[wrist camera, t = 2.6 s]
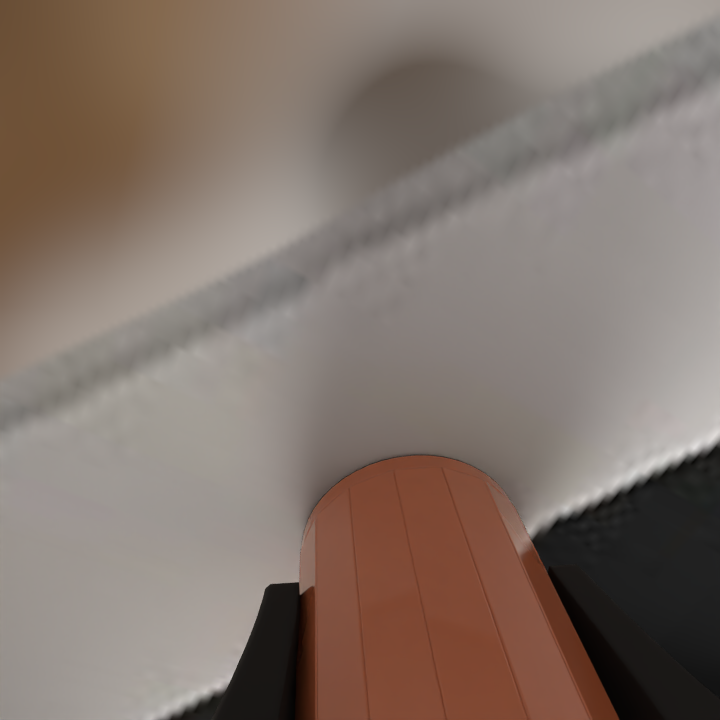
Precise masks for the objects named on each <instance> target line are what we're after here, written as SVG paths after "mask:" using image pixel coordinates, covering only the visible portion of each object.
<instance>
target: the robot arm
mask: <svg viewBox="0 0 720 720" xmlns="http://www.w3.org/2000/svg"><path fill="white" fill-rule="evenodd" d="M548 575H549V577H550V579H551V581H552V583H553V585H554V587H555V589H556V591H557V593H558V596H559V598H560V600H561V602H562V604H563V606H564V608H565V610H566V612H567V614H568V616H569V618H570V620H571V622H572V624H573V626H574V628H575V630H576V632H577V634H578V636H579V638H580V640H581V642H582V644H583V646H584V648H585V650H586V652H587V654H588V656H589V658H590V660H591V662H592V664H593V666H594V668H595V670H596V672H597V675H598V677H599V679H600V681H601V683H602V685H603V687H604V689H605V691H606V693H607V695H608V697H609V699H610V701H611V703H612V705H613V707H614V709H615V711H616V713H617V715H618V717H619V719H620V720H720V699H719V698H718V697H717V696H715V695H714V694H713V693H712V692H711V691H710V690H708V689H707V688H706V687H705V686H704V685H703V684H701V683H700V682H699V681H698V680H697V679H696V678H695V677H693V676H692V675H691V674H690V673H689V672H688V671H686V670H685V669H684V668H683V667H682V666H681V665H680V664H679V663H678V662H676V661H675V660H674V659H673V658H672V657H671V656H670V655H669V654H668V653H667V652H666V651H665V650H663V649H662V648H661V647H660V646H659V645H658V644H657V643H656V642H655V641H654V640H653V639H652V638H651V637H650V636H649V635H648V634H646V633H645V632H644V631H643V630H642V629H641V628H640V627H639V626H638V625H637V624H636V623H635V622H634V621H633V620H632V619H631V618H630V617H629V616H628V615H627V614H626V613H625V612H624V611H623V610H622V609H621V608H620V607H619V606H618V605H617V604H616V603H615V602H614V601H613V600H612V599H611V598H610V597H609V596H608V595H607V594H606V593H605V592H604V591H603V590H602V589H601V588H600V587H599V586H598V585H597V584H596V583H595V582H594V581H593V580H592V579H591V578H590V577H589V576H588V575H587V574H586V573H585V572H584V571H583V570H582V569H581V568H580V567H579V566H578V565H577V564H573V565H558V566H549V571H548ZM299 611H300V589H299V582H297V583H282V584H270V585H269V586H268V587H267V588H266V589H265V592H264V596H263V600H262V603H261V606H260V610H259V613H258V616H257V619H256V621H255V624H254V627H253V629H252V632H251V635H250V637H249V640H248V642H247V645H246V647H245V649H244V652H243V654H242V656H241V659H240V661H239V663H238V665H237V668H236V670H235V672H234V675H233V677H232V679H231V681H230V683H229V686H228V688H227V690H226V692H225V694H224V696H223V698H222V700H221V702H220V704H219V706H218V708H217V710H216V712H215V714H214V716H213V718H212V720H294V716H295V688H296V662H297V648H298V639H299Z"/></svg>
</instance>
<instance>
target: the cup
mask: <svg viewBox="0 0 720 720" xmlns="http://www.w3.org/2000/svg"><path fill="white" fill-rule="evenodd" d="M299 589H300V611H299V639H298V648H297V662H296V688H295V716H294V720H620V719H619V717H618V715H617V713H616V711H615V709H614V707H613V705H612V703H611V701H610V699H609V697H608V695H607V693H606V691H605V689H604V687H603V685H602V683H601V681H600V679H599V677H598V675H597V672H596V670H595V668H594V666H593V664H592V662H591V660H590V658H589V656H588V654H587V652H586V650H585V648H584V646H583V644H582V642H581V640H580V638H579V636H578V634H577V632H576V630H575V628H574V626H573V624H572V622H571V620H570V618H569V616H568V614H567V612H566V610H565V608H564V606H563V604H562V602H561V600H560V598H559V596H558V593H557V591H556V589H555V587H554V585H553V583H552V581H551V579H550V577H549V575H548V573H547V571H546V569H545V567H544V565H543V563H542V561H541V559H540V557H539V555H538V553H537V551H536V549H535V547H534V545H533V543H532V541H531V539H530V537H529V535H528V533H527V531H526V529H525V527H524V525H523V523H522V521H521V519H520V517H519V515H518V512H517V510H516V508H515V506H513V504H512V503H511V501H510V499H509V497H508V496H507V495H506V493H505V492H504V490H503V489H502V488H501V487H500V486H499V485H498V484H497V483H496V482H495V481H494V480H493V479H492V478H490V477H489V476H488V475H486V474H485V473H484V472H482V471H480V470H478V469H476V468H475V467H473V466H471V465H468V464H466V463H463V462H460V461H458V460H454V459H449V458H445V457H438V456H430V455H412V456H403V457H396V458H392V459H387V460H383V461H380V462H377V463H374V464H371V465H368V466H366V467H364V468H362V469H360V470H357V471H355V472H354V473H352V474H350V475H349V476H347V477H345V478H344V479H342V480H341V481H340V482H339V483H337V484H336V485H335V486H333V487H332V488H331V489H330V490H329V491H328V492H327V493H326V494H325V495H324V496H323V497H322V499H321V500H320V501H319V503H318V504H317V505H316V507H315V508H314V510H313V511H312V513H311V515H310V517H309V519H308V521H307V524H306V527H305V530H304V534H303V539H302V548H301V552H300V574H299Z"/></svg>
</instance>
